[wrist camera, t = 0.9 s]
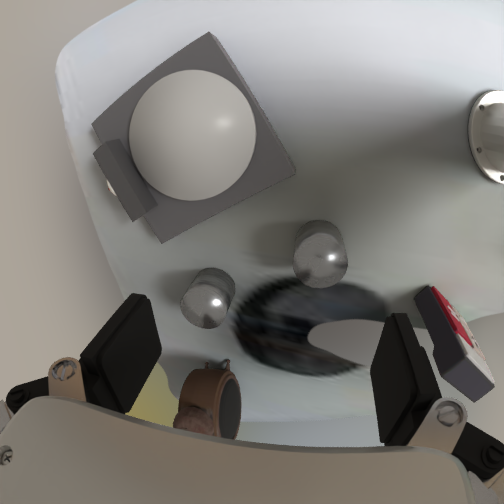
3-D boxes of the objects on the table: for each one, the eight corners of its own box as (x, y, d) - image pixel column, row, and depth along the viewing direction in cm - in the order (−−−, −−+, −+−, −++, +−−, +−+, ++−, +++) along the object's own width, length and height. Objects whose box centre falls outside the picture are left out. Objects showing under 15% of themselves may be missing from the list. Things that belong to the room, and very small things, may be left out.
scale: (216, 37, 28) (199, 24, 23) (295, 169, 34) (293, 180, 28) (103, 123, 35) (74, 127, 29) (169, 236, 40) (149, 255, 35)
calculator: (464, 317, 38) (500, 384, 24) (445, 334, 40) (474, 403, 26) (430, 280, 36) (470, 352, 23) (409, 300, 38) (440, 376, 25)
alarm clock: (251, 399, 53) (229, 489, 35) (216, 397, 55) (187, 482, 37) (237, 347, 47) (202, 452, 29) (196, 346, 49) (151, 442, 31)
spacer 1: (221, 261, 41) (208, 284, 35) (243, 295, 43) (233, 321, 37) (187, 276, 43) (171, 299, 38) (209, 308, 45) (197, 333, 39)
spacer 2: (330, 212, 35) (335, 229, 30) (349, 253, 37) (355, 276, 32) (287, 231, 37) (283, 252, 32) (307, 270, 39) (306, 295, 34)
